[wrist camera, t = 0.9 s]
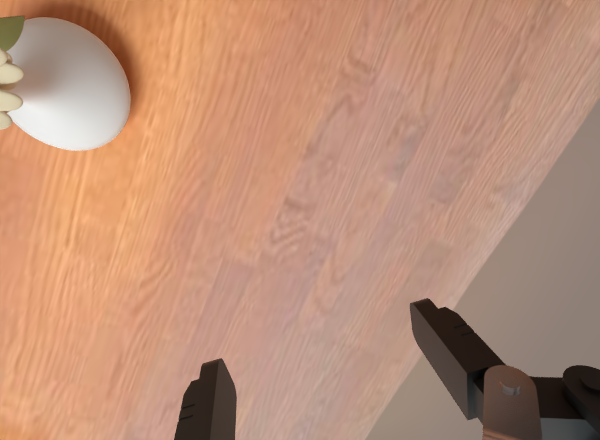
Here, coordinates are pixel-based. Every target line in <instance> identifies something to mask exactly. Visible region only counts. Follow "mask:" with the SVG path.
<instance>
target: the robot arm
mask: <svg viewBox="0 0 600 440" xmlns="http://www.w3.org/2000/svg"><path fill="white" fill-rule="evenodd" d="M410 313H411V322H412V330H413V335H414V337H415V340H416V342H417V344H418V346H419V347H420V349H421V350H422V352H423V353H424V355H425V356H426V358H427V359H428V361H429V362H430V364H431V365H432V367H433V369H434V370H435V371H436V373H437V375H438V376H439V377H440V379H441V381H442V382H443V384H444V385H445V387H446V388H447V390H448V391H449V392H450V394H451V396H452V397H453V399H454V400H455V402H456V403H457V405H458V406H459V407H460V409H461V411H462V412H463V414H464V415H465V417H466V418H467V420H470V419H473V418H477V417H478V419H479V420H480V421H481V423H482V424H483V439H482V440H600V370H599V369H596V368H593V367H589V366H582V365H576V366H571V367H569V368H567V369H566V370H565V371H564V373H563V378H553V377H552V378H551V377H550V378H548V377H531V376H528V375H527V374H525V373H524V372H522V371H521V370H519V369H517V368H514V367H510V366H507V365H505V364H504V363H503V362H502V360H501V359H500V358H499V357H498V356H497V355H496V354H495V353H494V352H493V351H492V350H491V349H490V348H489V347H488V346H487V345H486V343H485V342H484V341H483V340H482V339H481V338H480V337H479V336H478V335H477V334H476V333H474V331H473V329H472V328H471V327H470V326H469V325H467V323H466V322H465V321H464V320H463V319H462V318H461V317H460V316H459V315H458V314H457V313H455V312H454V311H452V310H450V309H448V308H446V307H443V308H440V309H438V308H437V307H436V306H435V305H434V303H433V302H432V301H431V300H430V299H428V298H426V299H423V300H420V301H416V302H413V303H410ZM236 401H237V398H236V390H235V385H234V383H233V380H232V378H231V376H230V374H229V372H228V370H227V367H226V365H225V363H224V361H223V359H221V358H220V359H217V360H213V361H210V362H207V363H203V364H202V366H201V372H200V377H199V379H198V380H194V381H192V382H191V383H190V385H189V387H188V388H187V390H186V392H185V394H184V396H183V401H182V406H181V411H180V415H179V422H178V424H177V429H176V433H175V438H174V440H235V425H236Z"/></svg>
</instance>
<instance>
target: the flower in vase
mask: <svg viewBox="0 0 600 440" xmlns="http://www.w3.org/2000/svg"><path fill="white" fill-rule="evenodd" d="M130 106H131V94H130V88H129V84H128V80H127V77H126V75H125V72H124V70H123V68H122V66H121V64H120V62H119V61H118V59H117V58H116V56H115V55H114V54H113V52H112V51H111V50H110V49H109V48H108V47H107V45H106V44H104V43H103V42H102V41H101V40H100V39H99V38H98V37H96V36H95V35H94V34H93V33H91V32H90V31H88V30H86V29H85V28H83V27H81V26H79V25H77V24H75V23H72V22H69V21H66V20H63V19H58V18H51V17H38V18H31V19H27V20H25V16H15V17H4V18H0V129H5V128H8V127H9V126H10V125H11V124H12V121H13V122H14V123H15V124H16V125H18V126H19V127H20V128H21V129H22V130H24V131H25V132H26V133H27V134H29V135H31V136H32V137H34V138H36V139H38V140H40V141H42V142H44V143H46V144H49V145H51V146H54V147H57V148H61V149H65V150H73V151H83V150H91V149H95V148H98V147H101V146H103V145H105V144H107V143H109V142H110V141H112V140H113V139H114V138H115V137H116V136H117V135H118V134H119V133H120V132H121V131H122V129H123V127H124V126H125V124H126V122H127V119H128V116H129V112H130Z"/></svg>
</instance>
